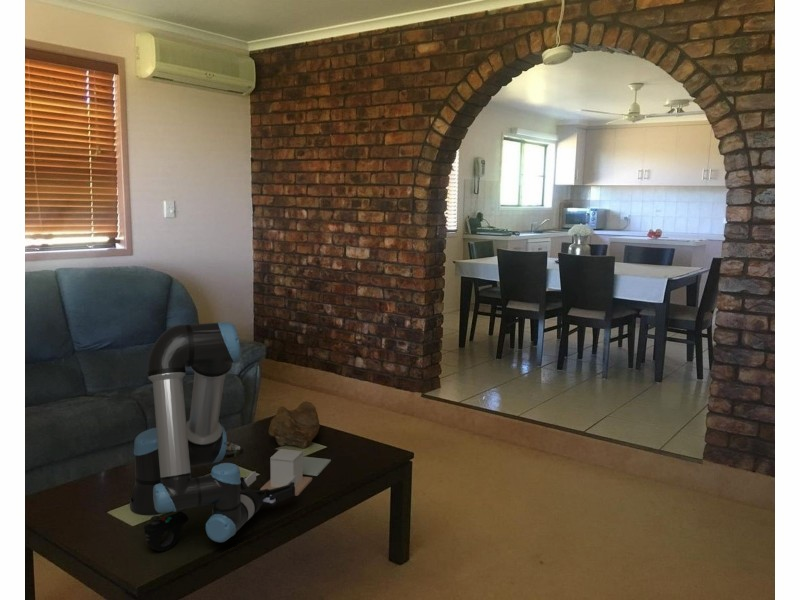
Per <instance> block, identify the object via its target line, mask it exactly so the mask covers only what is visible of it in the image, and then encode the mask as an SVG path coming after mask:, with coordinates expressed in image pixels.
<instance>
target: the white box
mask: <svg viewBox="0 0 800 600" xmlns="http://www.w3.org/2000/svg"><path fill="white" fill-rule="evenodd" d="M303 453H304V452H303V450H293V449H285V448H280V449H278V450H277V451H276V452H275V453H274V454H273V455H271V457H269V458H270V462H269V463H270V465H269V466H270V479H271V487H282V486H285V484H286V483H287V482H288V481H289V480H290V479H291V478H292V477H293V476H296V485H295V486H294V487H296V486H297V485H298V484H299V483H300V482H301V481H302V480H303V477H304V476H303V475H304V474H303V455H304V454H303Z"/></svg>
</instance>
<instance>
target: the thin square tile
mask: <svg viewBox="0 0 800 600" xmlns="http://www.w3.org/2000/svg"><path fill="white" fill-rule="evenodd" d="M312 481H313V476H312V477H311V476H303V480H302V481H301V482H300V483H299V484H298V485H297V486H296V487H295V495H294V496H295V497H296V496H299V495H301V493H302V492H303V491H304V489H306V487H308V485H309V484H310V483H311V482H312ZM274 488H278V487H271V478H270V479H269V480H268V481H266V483H265V484H264V485H262V486H261V487H260V489H259V490H264V489H269V490H270V489H274Z"/></svg>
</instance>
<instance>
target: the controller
mask: <svg viewBox="0 0 800 600" xmlns="http://www.w3.org/2000/svg"><path fill="white" fill-rule="evenodd" d="M188 521H189V517H188V514H186V513H185V512H182V511H176V512H174V513H173V514H171V515H168V516H166V517H163V518H161V519H160V517H159V515H153V516H151V517H150V523H148V524H146V525H144V526H143V529H144V537H145V538H144V540H145V541H146V543H147V545H148V546H149V547H150V548H151V549H152V550H154V551H157V552H164V551H167V550H169V549H171V548H172V547H173V546H174V545H176V543H177V542H178V540H179V538H180V535H181V532H182V527H183V526H184V525H185V524H186V523H187V522H188ZM165 533H167V536H166V538H165V540H164V541H163V542H162V543H161V539H162V537H163V535H164V534H165Z"/></svg>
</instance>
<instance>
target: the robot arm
mask: <svg viewBox="0 0 800 600" xmlns="http://www.w3.org/2000/svg"><path fill="white" fill-rule="evenodd" d="M150 350H151V351H150V353H149V356H148V361H147V368H146V369H147V379H148V380H149V381H151V382H152V390H153V391H152V392H153V403H154V414H155V415H154V417H155V426H156V427H152V428H149V429H145V430H143V431H142V432H140V433H139V434H137V436H136V437H135V439H134V442H133V443H134V445H133V455H134V477H135V479H134V481H135V482H134V486H133V490H132V493H131V497H130V499H129V508H130V510H131V512H133V513H134V514H138V515H143V516H150V515H151V516H152V515H153V516H156V515H160V514H166V513H170V512H174V513H177V512H179V511H182V510H187V509H191V508H198V507H203V506H207V505H208V506H209V505H211V509H212V510H211V513H212V514H211V516H210V517H209V518H208V519H207V521H206V523H205V532H206V534H207V537H208V538H209V539H210V540H212V541H214V542H216V543H225V542H226V541H227V540H229V539H231V537H234V536H235V535H236V533H237V532H238V531H239V530H240V529H241V528H242V527H243V526H244V525H245V524H246V523H247V522H248V521H249V520H250V519H251V518H252V517H253V516H254V515H256V514H257V512H258V511H259V510H260V509H261V506H262V505H264V504H266V503H269V506H271V507H273V506H274V505H276V504H277V503H280V502H282V501H284V500H287V499H289V498H292V497H294V496H295V487H294V486H295V485H296V476H293V477H292V478H291V479H290V480H289V481H288V482H287V483H286V484H285V486H282V487H278V488H274V489H270V490H269V489H264V490H260V489H255V488H254V489H252V488H251V487H250V485H252V484H254V482H255V481H257V472H256V471H254V470H253V471H252V472H251V473H250V474H249V475H248V476H246V477H241V471H240V467H239V466H238V465H237V464H235V463H231V462H222V463H219V462H221V461H222V460H223V459H225V458H224V456H225V453H226V448H227V445H226V442H228V441H227V440H228V438H227V437H228V436H227V432H226V429H225V426H223V425H221V423H220V422H219V421H220V420H219V419H220V413H221V406H222V398H223V393H224V392H223V391H224V384H225V379H226V377H225V376H226V375H227V374H228V373H229V372H230V371H231V369H232V367H233V364H236V363H239V362H240V360H241V358H242V356H241V355H242V352H241V344H240V338H239V333H238V331H237V329H236V327H235V325H234V323H232V322H229V321H228V322H226V321H225V322H221V321H217V322H210V323H209V322H208V323H192V324H191V323H190V324H177V325H173V326H171V327H170V328H168V329H166V330H165V331H163V333H161V335H159V337H158V338H157V340H156V341H155V342H154V344H153V346H152V348H151V349H150ZM186 367H187V368H188V367H189V368H191V371H193V372H194V375H193V385H192V386H193V387H192V394H191V396H192V397H191V402H190V412H189V420H187V419H186V418H187V417H186V406H185V395H184V383H183V378H184V377H185V376H186V374H187V372H186ZM216 463H219V464H216ZM212 464H215V465H214V466H212V468H211V471H210V474H207V475H202V476H196V477H192V474H191V468H193V467H194V468H195V467H201V466H202V467H203V466H207V465H212Z"/></svg>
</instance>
